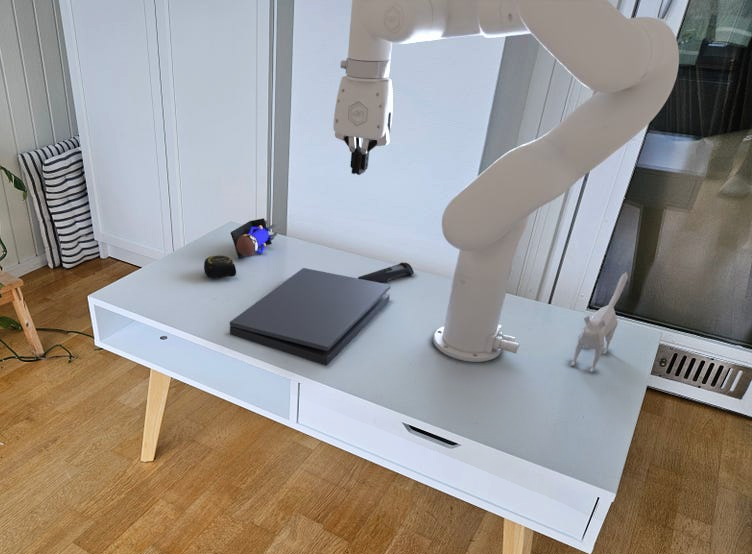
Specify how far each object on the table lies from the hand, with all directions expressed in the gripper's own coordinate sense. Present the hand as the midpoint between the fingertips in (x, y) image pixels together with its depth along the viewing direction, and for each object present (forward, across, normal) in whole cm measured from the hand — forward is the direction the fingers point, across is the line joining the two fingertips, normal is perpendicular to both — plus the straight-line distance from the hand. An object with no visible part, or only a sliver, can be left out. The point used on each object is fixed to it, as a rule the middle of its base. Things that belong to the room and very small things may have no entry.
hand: (358, 172), depth 123 cm
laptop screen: (+25, -2, -12) cm, 28 cm away
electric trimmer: (+27, +4, +12) cm, 30 cm away
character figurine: (+27, -30, +10) cm, 42 cm away
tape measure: (+27, -29, -6) cm, 40 cm away
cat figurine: (+27, +49, +2) cm, 56 cm away
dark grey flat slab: (+27, -2, -12) cm, 30 cm away
